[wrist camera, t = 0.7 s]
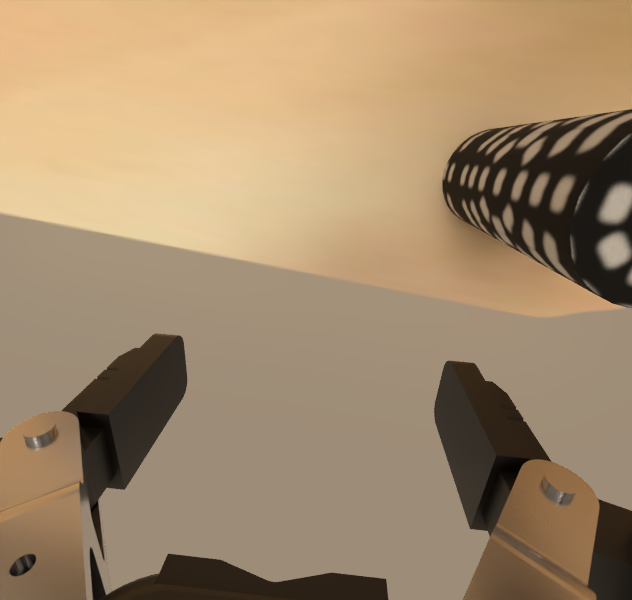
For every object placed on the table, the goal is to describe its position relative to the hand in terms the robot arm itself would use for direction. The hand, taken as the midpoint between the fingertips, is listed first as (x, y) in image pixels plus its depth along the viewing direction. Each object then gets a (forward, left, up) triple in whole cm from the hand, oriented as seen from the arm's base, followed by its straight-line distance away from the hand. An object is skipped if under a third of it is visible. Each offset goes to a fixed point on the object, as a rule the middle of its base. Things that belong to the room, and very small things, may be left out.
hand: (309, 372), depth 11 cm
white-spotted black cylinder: (-10, +11, -26) cm, 30 cm away
